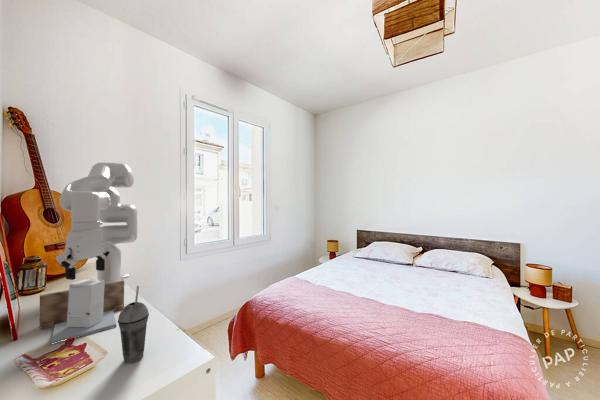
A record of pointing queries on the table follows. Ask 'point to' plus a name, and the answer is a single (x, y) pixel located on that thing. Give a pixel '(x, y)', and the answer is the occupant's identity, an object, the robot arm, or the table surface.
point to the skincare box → (85, 303)
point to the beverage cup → (133, 330)
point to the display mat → (66, 332)
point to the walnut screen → (57, 303)
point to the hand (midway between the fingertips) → (86, 274)
